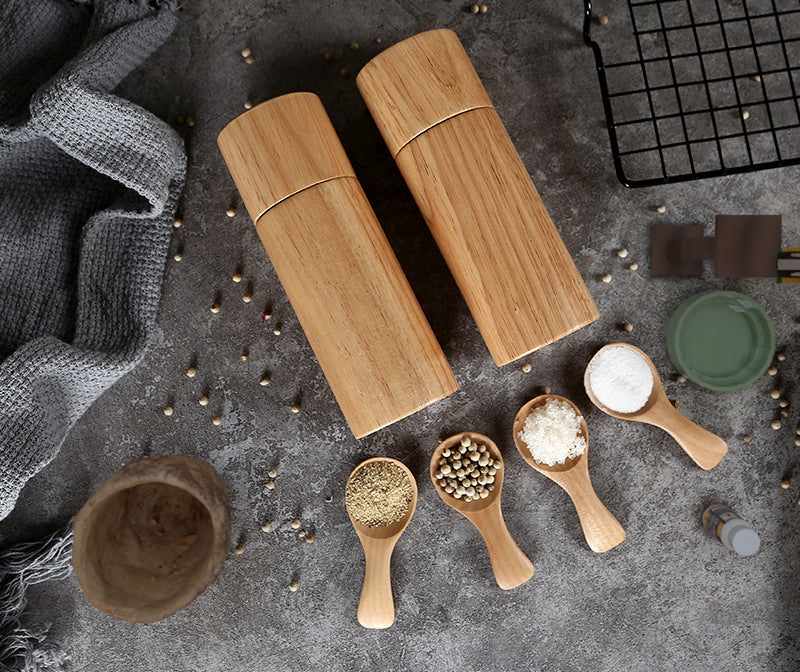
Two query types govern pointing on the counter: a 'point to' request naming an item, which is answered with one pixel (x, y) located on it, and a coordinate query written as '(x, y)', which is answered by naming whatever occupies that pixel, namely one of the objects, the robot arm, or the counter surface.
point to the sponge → (783, 279)
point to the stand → (719, 247)
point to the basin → (720, 340)
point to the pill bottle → (731, 530)
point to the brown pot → (152, 537)
